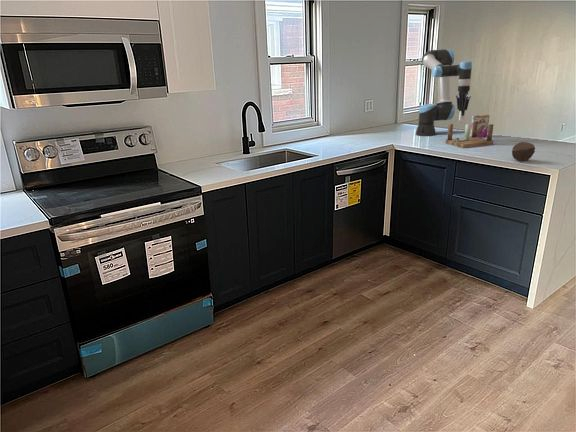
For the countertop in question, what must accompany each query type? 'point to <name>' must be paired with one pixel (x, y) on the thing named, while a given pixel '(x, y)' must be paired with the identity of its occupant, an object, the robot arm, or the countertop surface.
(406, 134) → the countertop surface
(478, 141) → the wooden peg board
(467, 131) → the crank handle
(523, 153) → the rock
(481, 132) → the candy bar box
